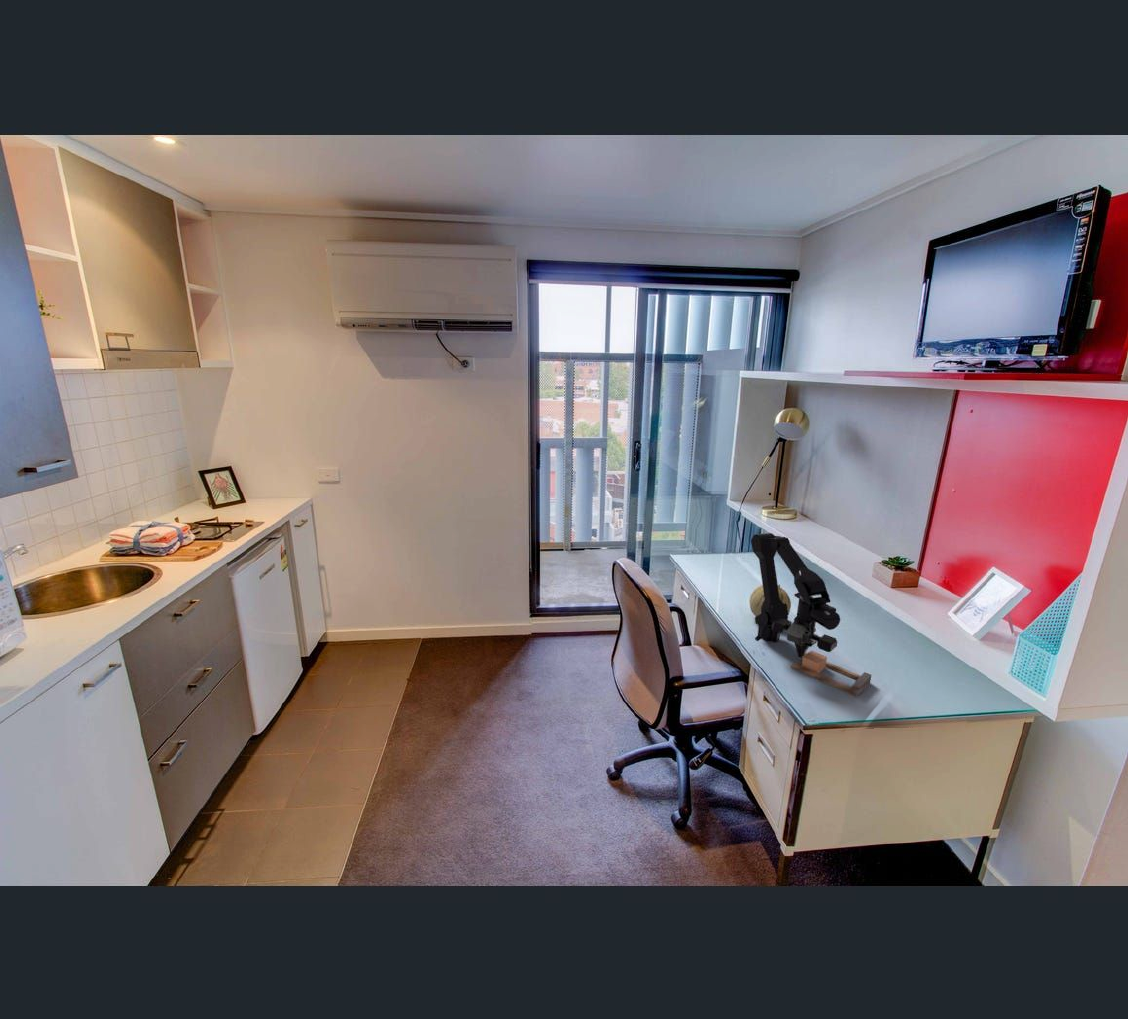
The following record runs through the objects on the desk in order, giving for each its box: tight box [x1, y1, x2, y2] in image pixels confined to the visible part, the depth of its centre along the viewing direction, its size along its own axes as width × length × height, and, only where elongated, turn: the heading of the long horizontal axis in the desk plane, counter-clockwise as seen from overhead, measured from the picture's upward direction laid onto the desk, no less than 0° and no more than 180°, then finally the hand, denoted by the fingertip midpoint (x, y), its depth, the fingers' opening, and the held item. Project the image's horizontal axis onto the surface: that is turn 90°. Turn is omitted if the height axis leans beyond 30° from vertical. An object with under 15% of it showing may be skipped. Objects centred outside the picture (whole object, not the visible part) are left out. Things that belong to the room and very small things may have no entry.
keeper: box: [801, 650, 828, 674], centre depth 159 cm, size 5×6×4 cm
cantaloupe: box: [749, 583, 792, 617], centre depth 190 cm, size 15×15×15 cm
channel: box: [790, 652, 872, 697], centre depth 156 cm, size 20×10×4 cm, turn 41°
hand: (800, 657), depth 162 cm, fingers closed
